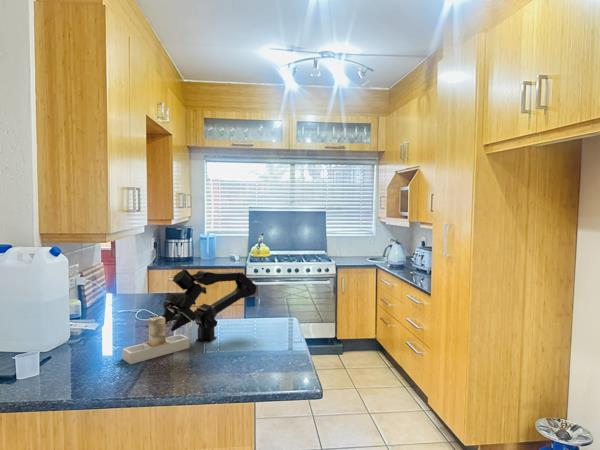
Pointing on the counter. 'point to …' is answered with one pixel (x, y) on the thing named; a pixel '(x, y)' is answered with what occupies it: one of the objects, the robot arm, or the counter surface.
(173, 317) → the door handle
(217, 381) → the counter surface
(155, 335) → the tan carved block
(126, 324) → the counter surface
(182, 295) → the robot arm
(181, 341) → the rack
